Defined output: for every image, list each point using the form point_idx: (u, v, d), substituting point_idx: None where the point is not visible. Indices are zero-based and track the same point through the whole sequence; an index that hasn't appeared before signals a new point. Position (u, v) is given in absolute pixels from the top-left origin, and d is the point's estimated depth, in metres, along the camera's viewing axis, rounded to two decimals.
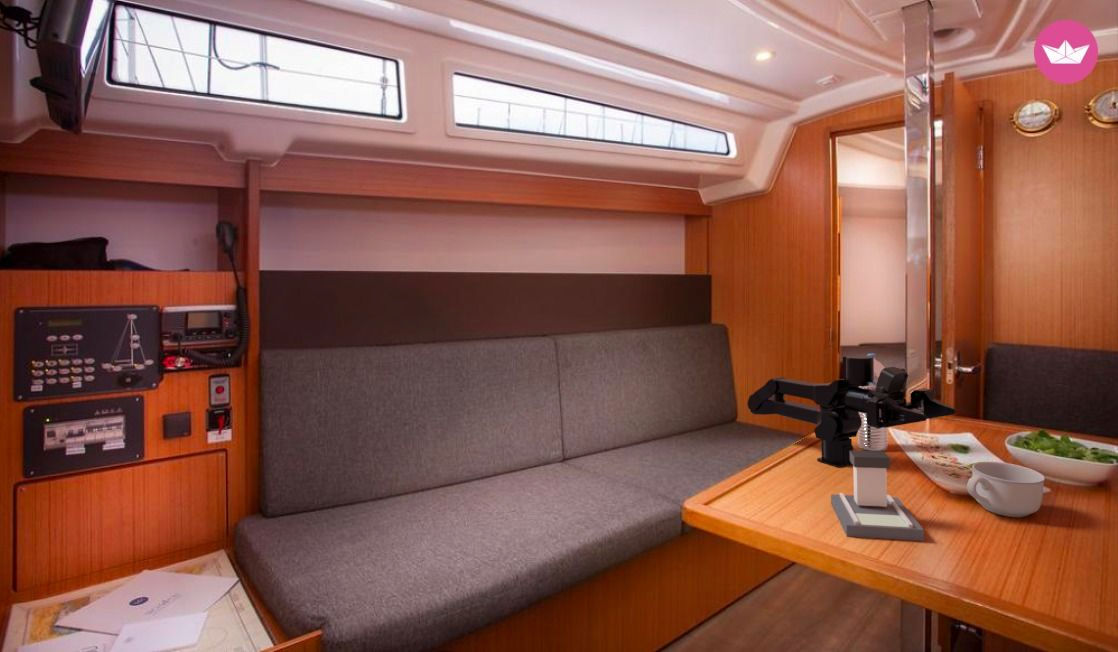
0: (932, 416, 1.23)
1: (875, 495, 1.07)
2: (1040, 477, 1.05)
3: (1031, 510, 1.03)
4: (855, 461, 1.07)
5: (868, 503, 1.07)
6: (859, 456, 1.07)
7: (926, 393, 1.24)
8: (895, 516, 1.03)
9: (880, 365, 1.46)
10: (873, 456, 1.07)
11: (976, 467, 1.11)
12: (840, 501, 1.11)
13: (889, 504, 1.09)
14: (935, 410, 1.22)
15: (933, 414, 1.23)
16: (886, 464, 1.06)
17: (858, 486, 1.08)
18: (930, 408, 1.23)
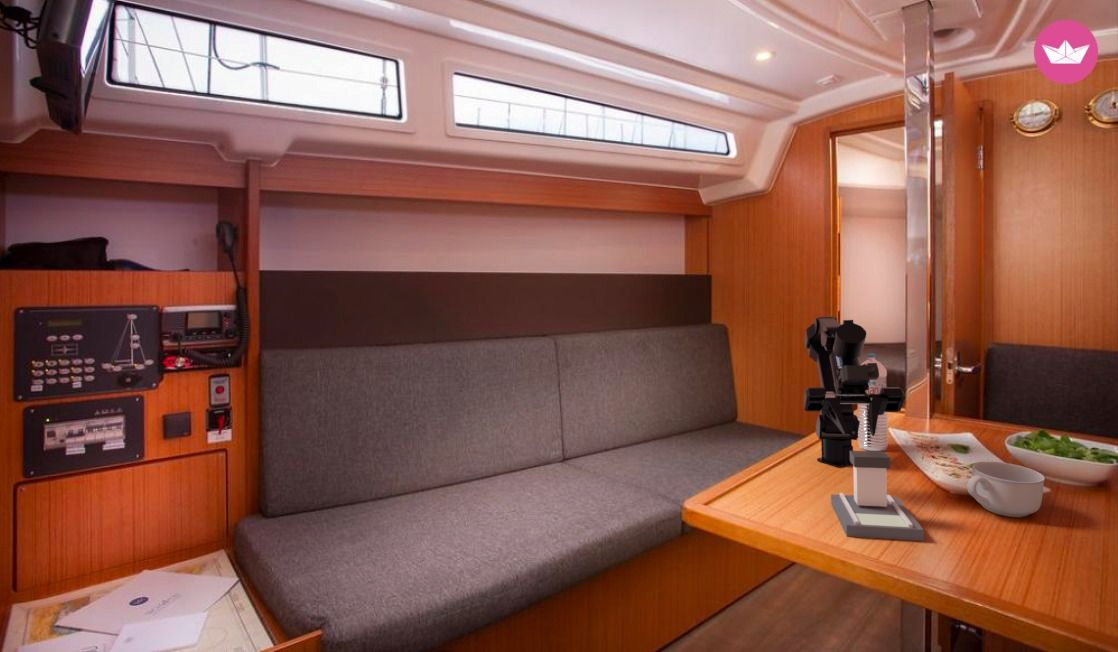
0: None
1: (875, 495, 1.07)
2: (1040, 477, 1.05)
3: (1031, 510, 1.03)
4: (855, 461, 1.07)
5: (868, 503, 1.07)
6: (859, 456, 1.07)
7: (874, 400, 1.17)
8: (895, 516, 1.03)
9: (880, 365, 1.46)
10: (873, 456, 1.07)
11: (976, 467, 1.11)
12: (840, 501, 1.11)
13: (889, 504, 1.09)
14: (870, 418, 1.18)
15: (870, 418, 1.19)
16: (886, 464, 1.06)
17: (858, 486, 1.08)
18: (870, 413, 1.18)
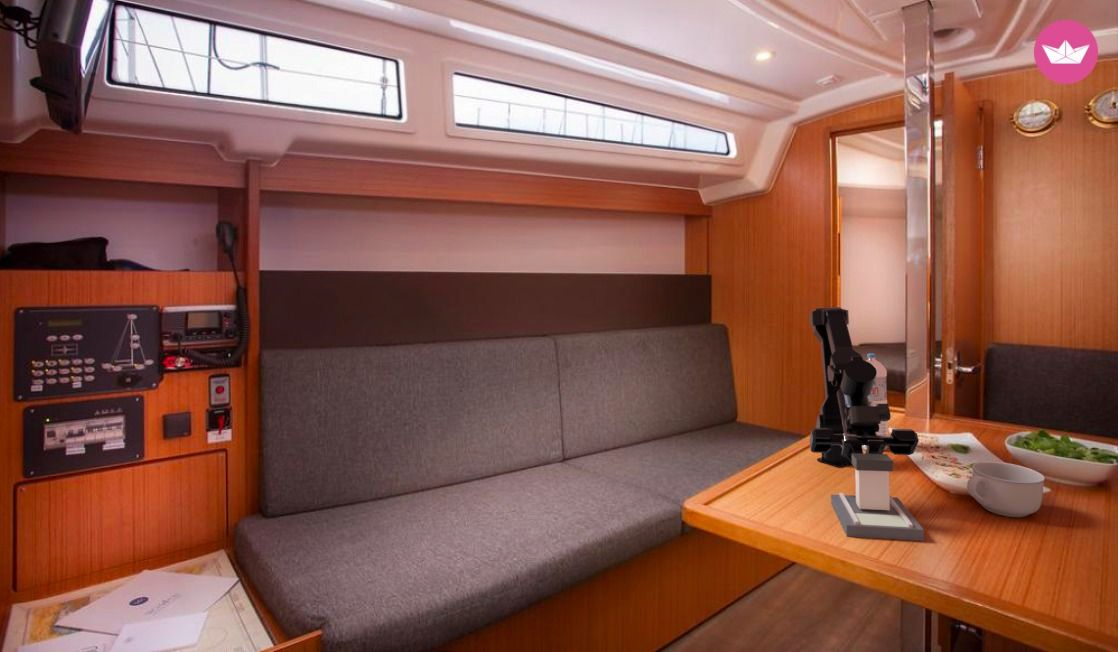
0: None
1: (877, 499, 1.05)
2: (1040, 477, 1.05)
3: (1031, 510, 1.03)
4: (857, 464, 1.05)
5: (870, 507, 1.06)
6: (861, 459, 1.05)
7: (872, 443, 1.10)
8: (895, 516, 1.03)
9: (880, 365, 1.46)
10: (875, 459, 1.05)
11: (976, 467, 1.11)
12: (840, 501, 1.11)
13: None
14: None
15: None
16: (889, 467, 1.04)
17: (860, 489, 1.06)
18: None
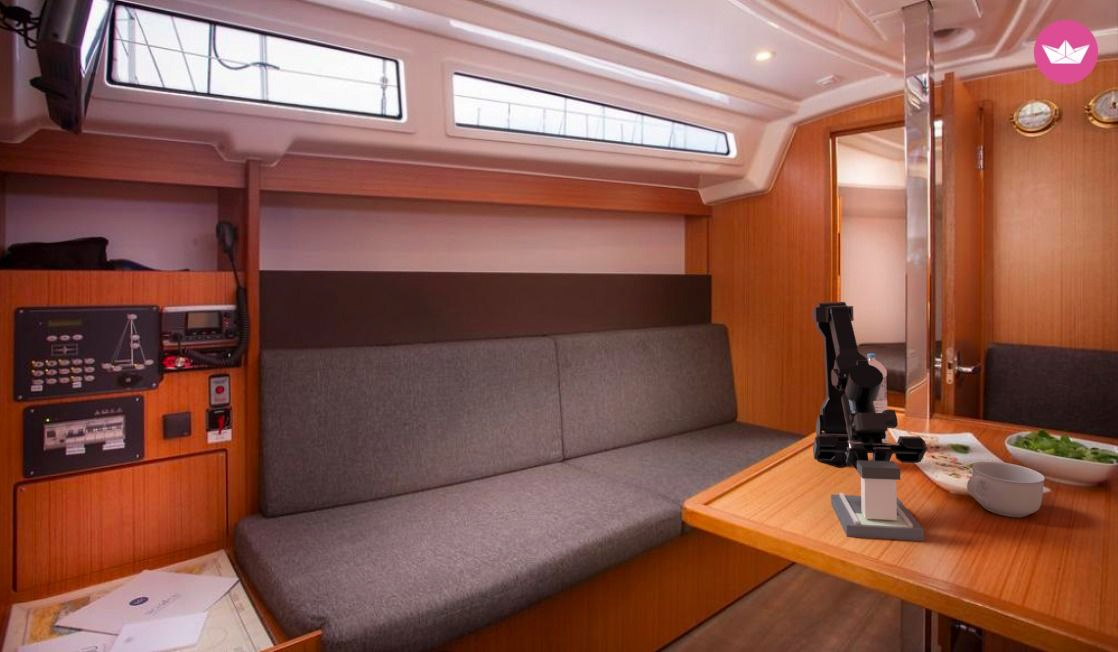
0: None
1: (884, 508, 1.01)
2: (1040, 477, 1.05)
3: (1031, 510, 1.03)
4: (863, 472, 1.01)
5: (877, 516, 1.01)
6: (867, 467, 1.01)
7: (878, 451, 1.06)
8: None
9: (880, 365, 1.46)
10: (882, 466, 1.01)
11: (976, 467, 1.11)
12: (840, 501, 1.11)
13: None
14: None
15: None
16: (896, 475, 1.00)
17: (866, 498, 1.02)
18: None
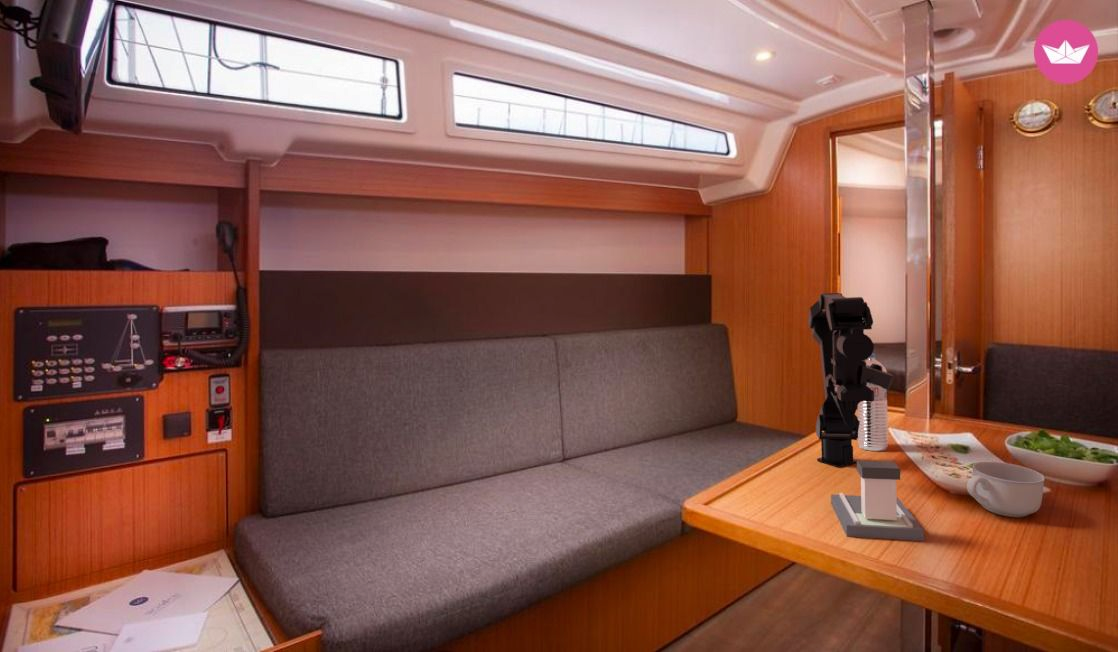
0: None
1: (884, 508, 1.01)
2: (1040, 477, 1.05)
3: (1031, 510, 1.03)
4: (863, 472, 1.01)
5: (877, 516, 1.01)
6: (867, 467, 1.01)
7: None
8: None
9: (880, 365, 1.46)
10: (882, 466, 1.01)
11: (976, 467, 1.11)
12: (840, 501, 1.11)
13: None
14: None
15: None
16: (896, 475, 1.00)
17: (866, 498, 1.02)
18: None
